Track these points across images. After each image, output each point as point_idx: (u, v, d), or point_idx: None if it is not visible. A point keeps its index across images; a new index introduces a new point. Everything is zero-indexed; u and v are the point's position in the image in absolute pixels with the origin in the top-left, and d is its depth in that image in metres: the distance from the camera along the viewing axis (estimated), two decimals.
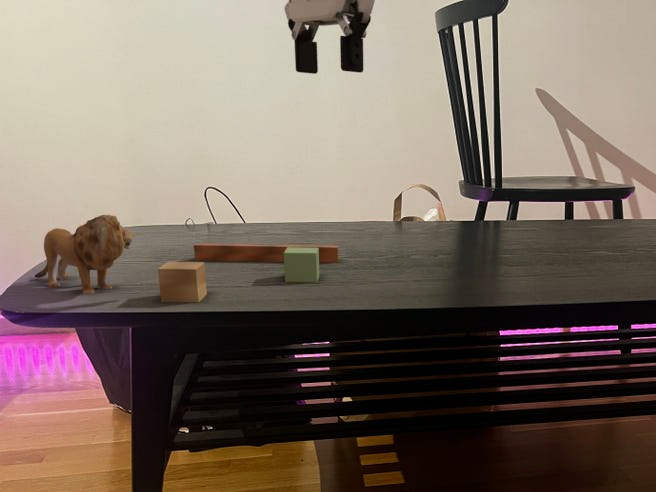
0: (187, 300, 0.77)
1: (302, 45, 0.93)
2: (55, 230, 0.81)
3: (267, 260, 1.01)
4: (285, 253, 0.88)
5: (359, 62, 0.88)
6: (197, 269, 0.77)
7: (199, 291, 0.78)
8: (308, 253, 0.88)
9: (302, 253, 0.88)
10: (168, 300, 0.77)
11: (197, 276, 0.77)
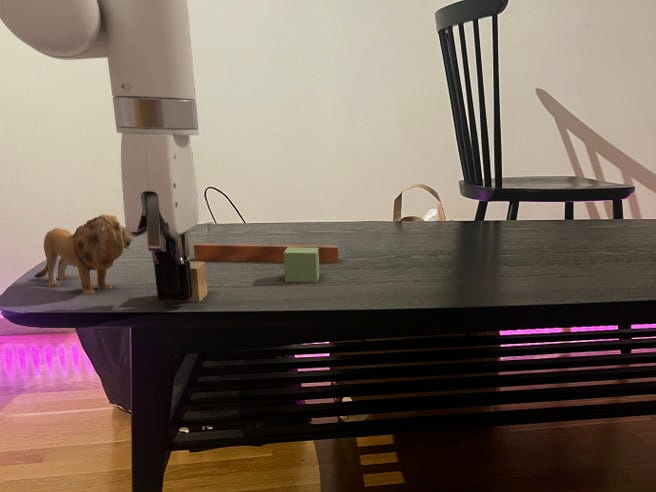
0: None
1: None
2: (55, 230, 0.81)
3: (267, 260, 1.01)
4: (285, 253, 0.88)
5: (175, 292, 0.74)
6: (198, 269, 0.77)
7: (200, 290, 0.78)
8: (308, 253, 0.88)
9: (302, 253, 0.88)
10: None
11: (198, 275, 0.77)
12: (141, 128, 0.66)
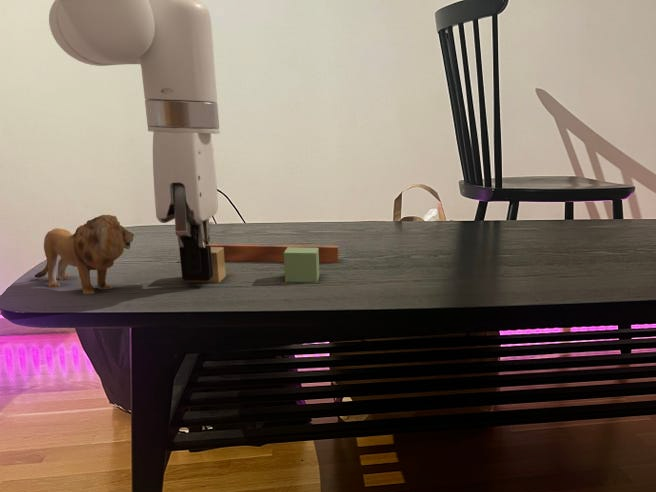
0: (209, 280, 0.87)
1: None
2: (55, 230, 0.81)
3: (267, 260, 1.01)
4: (285, 253, 0.88)
5: (197, 272, 0.83)
6: (218, 253, 0.87)
7: (219, 272, 0.87)
8: (308, 253, 0.88)
9: (302, 253, 0.88)
10: None
11: (218, 259, 0.87)
12: (170, 127, 0.75)
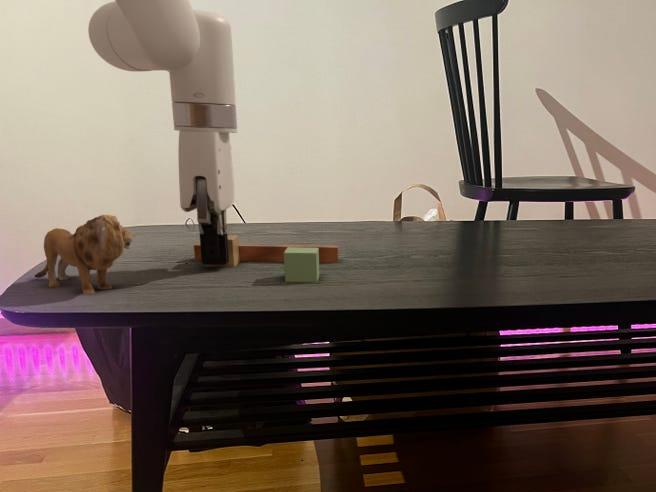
0: (225, 265, 0.96)
1: None
2: (55, 230, 0.81)
3: (267, 260, 1.01)
4: (285, 253, 0.88)
5: (215, 257, 0.92)
6: (233, 240, 0.96)
7: (234, 258, 0.97)
8: (308, 253, 0.88)
9: (302, 253, 0.88)
10: (210, 265, 0.96)
11: (233, 245, 0.96)
12: (194, 127, 0.85)
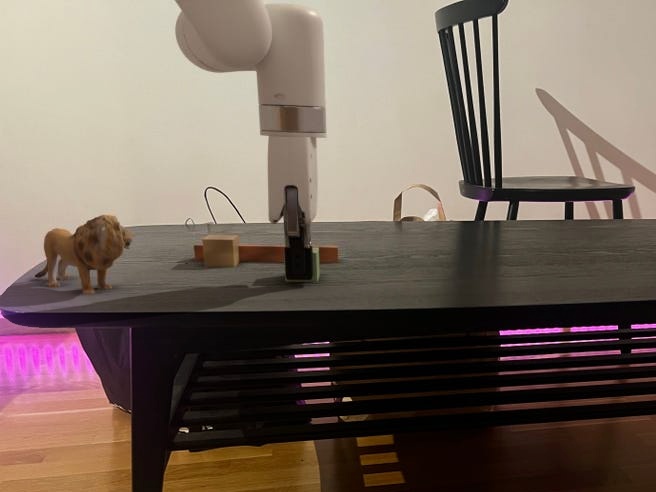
0: (225, 265, 0.96)
1: None
2: (55, 230, 0.81)
3: (267, 260, 1.01)
4: None
5: (301, 272, 0.85)
6: (233, 240, 0.96)
7: (234, 258, 0.97)
8: None
9: None
10: (210, 265, 0.96)
11: (233, 245, 0.96)
12: (285, 131, 0.78)
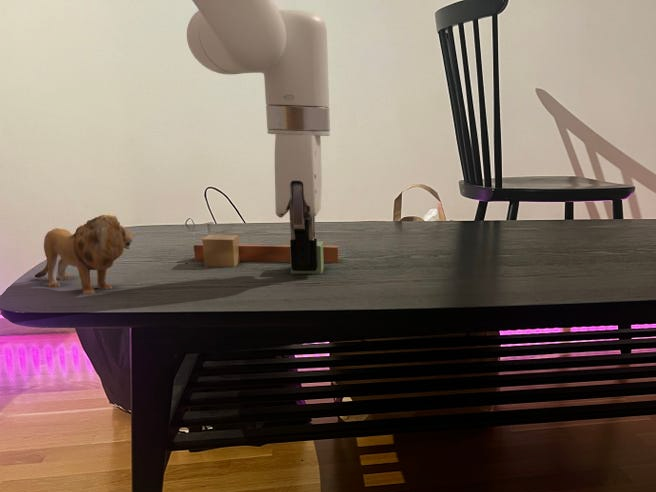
0: (225, 265, 0.96)
1: None
2: (55, 230, 0.81)
3: (267, 260, 1.01)
4: None
5: (306, 263, 0.90)
6: (233, 240, 0.96)
7: (234, 258, 0.97)
8: None
9: None
10: (210, 265, 0.96)
11: (233, 245, 0.96)
12: (291, 130, 0.83)
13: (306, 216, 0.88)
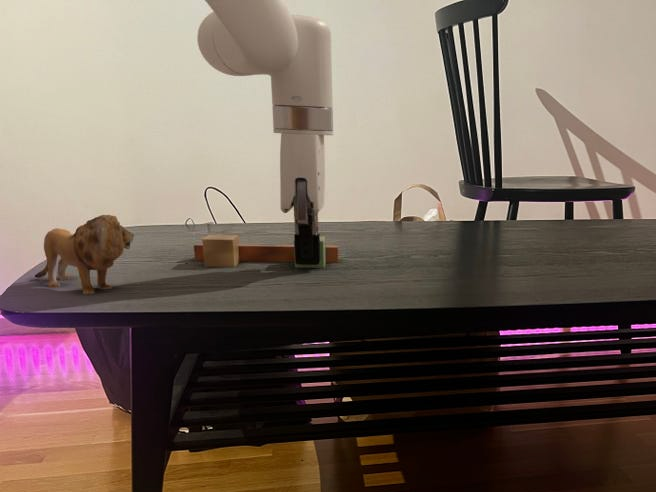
0: (225, 265, 0.96)
1: None
2: (55, 230, 0.81)
3: (267, 260, 1.01)
4: None
5: (309, 257, 0.94)
6: (233, 240, 0.96)
7: (234, 258, 0.97)
8: None
9: None
10: (210, 265, 0.96)
11: (233, 245, 0.96)
12: (296, 129, 0.87)
13: (310, 212, 0.92)
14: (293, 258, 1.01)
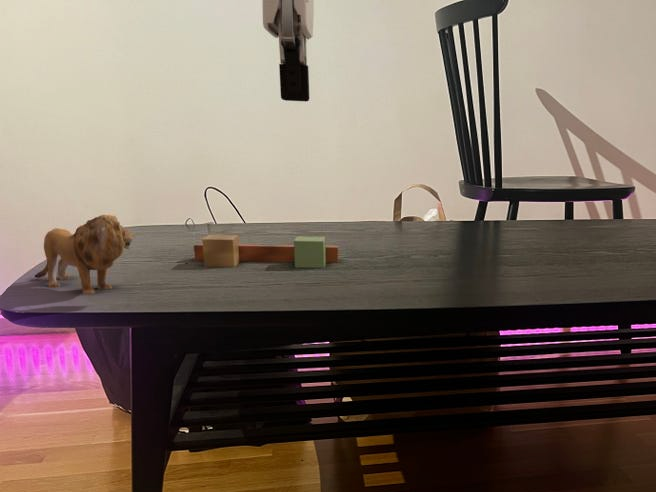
0: (225, 265, 0.96)
1: None
2: (55, 230, 0.81)
3: (267, 260, 1.01)
4: (295, 241, 0.97)
5: (297, 90, 0.83)
6: (233, 240, 0.96)
7: (234, 258, 0.97)
8: (316, 241, 0.97)
9: (310, 241, 0.97)
10: (210, 265, 0.96)
11: (233, 245, 0.96)
12: None
13: (297, 34, 0.81)
14: (293, 258, 1.01)
